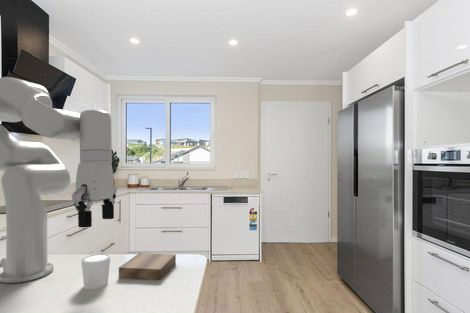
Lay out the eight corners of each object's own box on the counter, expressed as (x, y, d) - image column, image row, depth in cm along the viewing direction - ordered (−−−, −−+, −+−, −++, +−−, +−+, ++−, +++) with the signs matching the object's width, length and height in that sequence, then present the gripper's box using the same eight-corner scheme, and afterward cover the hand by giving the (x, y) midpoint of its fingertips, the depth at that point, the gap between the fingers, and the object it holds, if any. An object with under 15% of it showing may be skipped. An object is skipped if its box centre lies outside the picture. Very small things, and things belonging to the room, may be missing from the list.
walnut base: (118, 278, 76) (118, 267, 76) (139, 262, 88) (139, 253, 88) (160, 280, 75) (160, 269, 75) (175, 264, 87) (175, 254, 87)
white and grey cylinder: (98, 291, 69) (98, 263, 69) (74, 289, 70) (74, 261, 70) (116, 279, 76) (115, 254, 76) (93, 278, 77) (93, 252, 77)
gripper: (102, 158, 82) (103, 216, 82) (58, 157, 65) (59, 230, 65) (126, 157, 81) (127, 216, 81) (88, 156, 64) (89, 231, 64)
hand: (97, 222), depth 73 cm, fingers open, 9 cm apart
